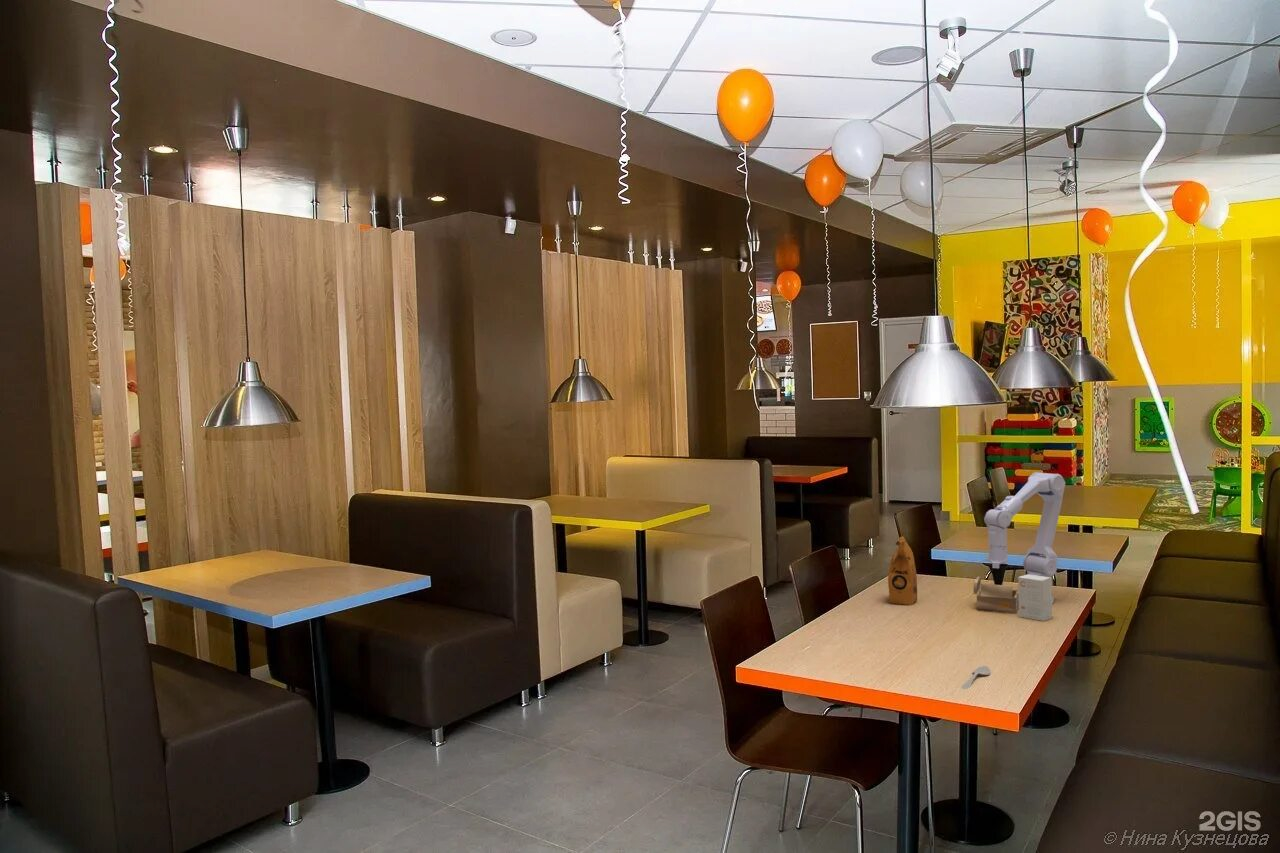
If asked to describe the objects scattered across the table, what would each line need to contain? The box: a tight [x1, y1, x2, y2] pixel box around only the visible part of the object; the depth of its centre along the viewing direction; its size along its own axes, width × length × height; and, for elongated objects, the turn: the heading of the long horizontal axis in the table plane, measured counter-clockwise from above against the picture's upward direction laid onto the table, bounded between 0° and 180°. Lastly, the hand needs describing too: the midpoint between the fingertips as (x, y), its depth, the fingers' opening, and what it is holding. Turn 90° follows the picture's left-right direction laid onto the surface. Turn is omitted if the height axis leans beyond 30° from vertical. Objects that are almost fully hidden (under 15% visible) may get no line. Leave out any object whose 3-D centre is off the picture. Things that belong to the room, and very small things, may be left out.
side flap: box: [972, 575, 982, 595], centre depth 295 cm, size 4×10×1 cm
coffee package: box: [887, 535, 918, 606], centre depth 305 cm, size 10×12×22 cm
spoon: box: [960, 665, 991, 690], centre depth 220 cm, size 4×21×2 cm, turn 141°
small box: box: [1017, 573, 1053, 622], centre depth 278 cm, size 8×6×13 cm
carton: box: [976, 588, 1019, 614], centre depth 292 cm, size 12×12×5 cm
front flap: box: [980, 583, 1013, 599], centre depth 286 cm, size 4×10×1 cm
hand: (998, 585), depth 292 cm, fingers closed
